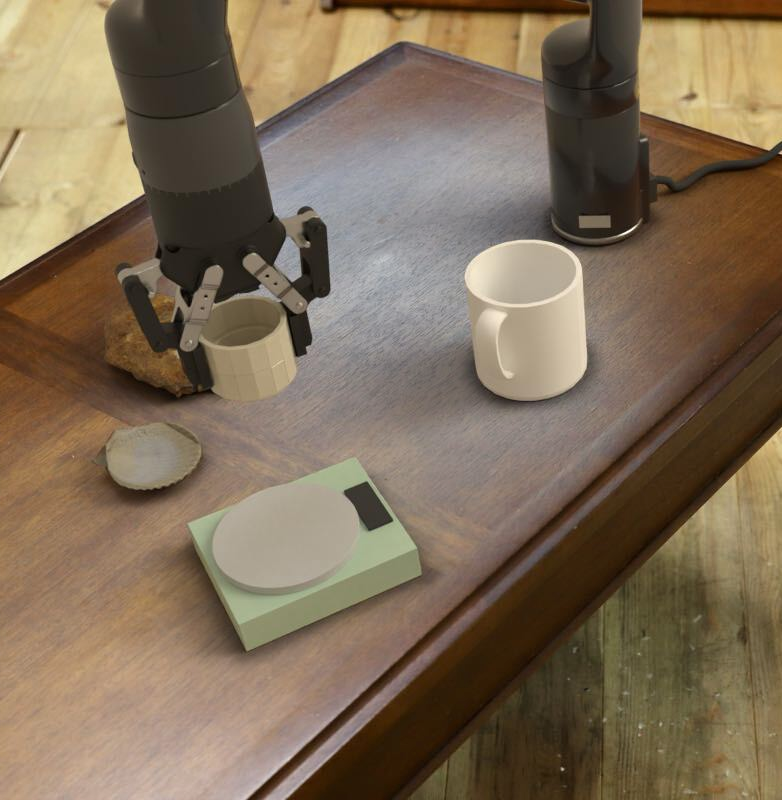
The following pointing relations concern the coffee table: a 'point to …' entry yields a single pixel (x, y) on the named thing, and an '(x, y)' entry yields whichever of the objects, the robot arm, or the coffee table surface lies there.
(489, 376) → the mug
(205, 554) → the kitchen scale
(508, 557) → the coffee table surface
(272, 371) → the beige faceted cup
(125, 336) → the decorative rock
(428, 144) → the coffee table surface
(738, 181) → the coffee table surface
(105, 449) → the seashell
